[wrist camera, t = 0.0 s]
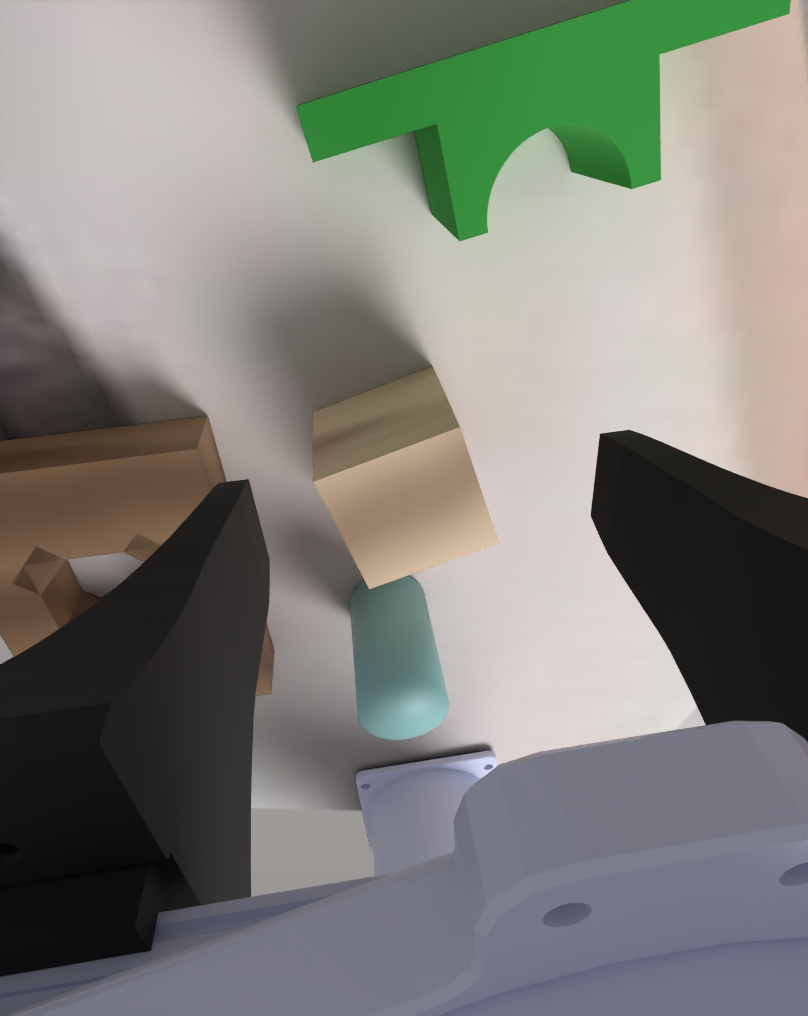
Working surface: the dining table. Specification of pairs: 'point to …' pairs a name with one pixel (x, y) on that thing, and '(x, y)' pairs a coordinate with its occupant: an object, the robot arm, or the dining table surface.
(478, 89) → the green pronged block
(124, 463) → the socket block
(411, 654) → the teal dowel
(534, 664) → the dining table surface
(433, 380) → the wooden cube block
